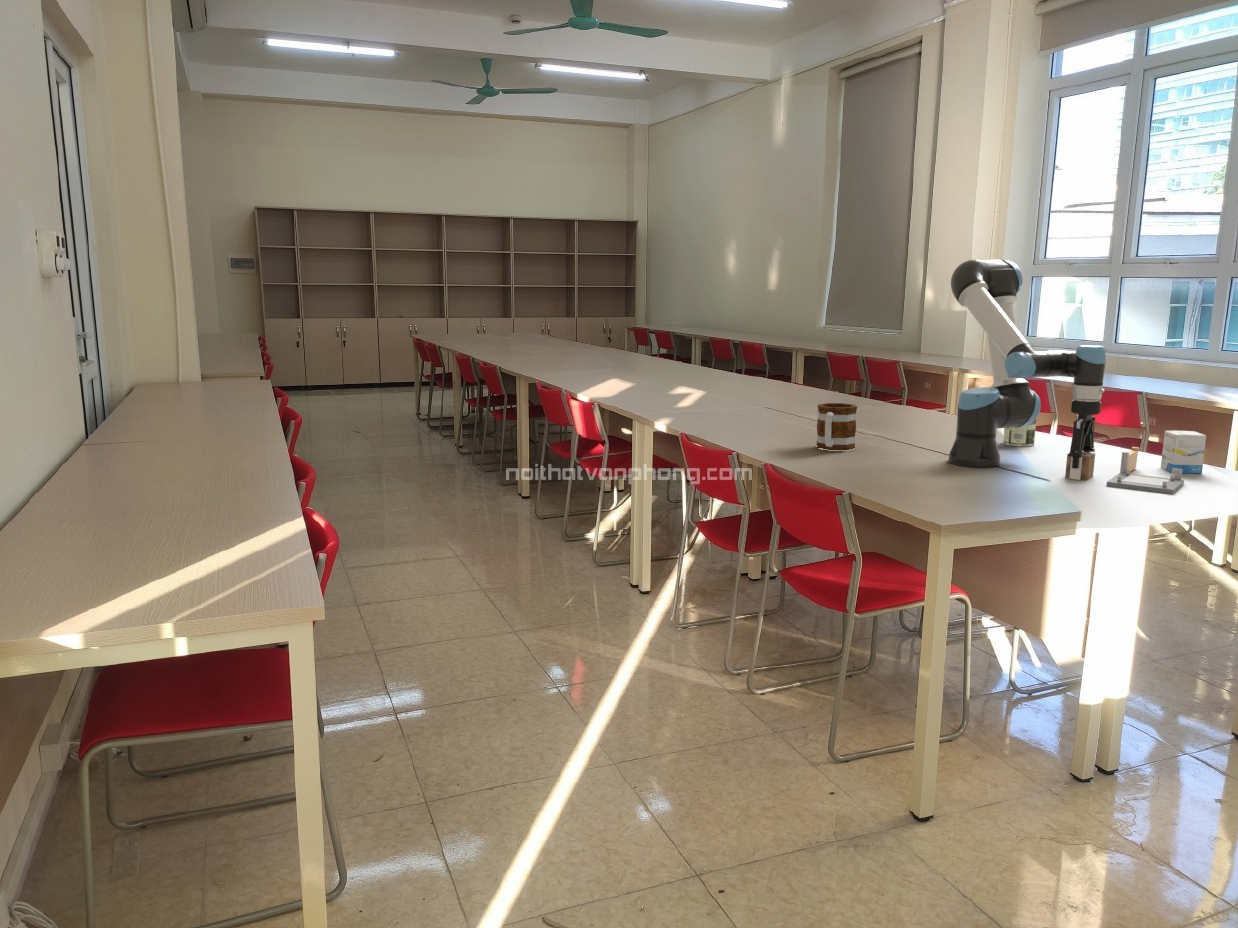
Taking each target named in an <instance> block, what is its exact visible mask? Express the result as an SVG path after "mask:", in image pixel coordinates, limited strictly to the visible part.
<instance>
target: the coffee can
mask: <svg viewBox="0 0 1238 928" xmlns="http://www.w3.org/2000/svg"><path fill="white" fill-rule="evenodd" d="M1036 424H1037V418H1036V419H1035V421H1034V422H1033V423H1031V424H1030V425H1027V426H1022V427H1018V428H1014V427H1011V428H1003V437H1002V438H1003V439H1002V444H1003V445H1006V446H1010V447H1034V446H1035V435H1036Z"/></svg>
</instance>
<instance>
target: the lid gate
mask: <svg viewBox="0 0 1238 928" xmlns="http://www.w3.org/2000/svg"><path fill="white" fill-rule="evenodd" d="M1139 451H1140V447H1138V446H1132V447H1131V451H1129V459H1128V468H1127V470H1131V471H1130V473H1131V472H1132V471H1134V470H1135V469H1136V468H1137V464H1138V463H1137V462H1138V456H1139V455H1138V453H1139Z"/></svg>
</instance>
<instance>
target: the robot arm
mask: <svg viewBox="0 0 1238 928" xmlns="http://www.w3.org/2000/svg"><path fill="white" fill-rule="evenodd" d="M1023 278H1024V277H1023V273H1022V271H1021V269H1020V267H1019V266H1018V264H1016V263H1015V262H1013V261H1011V260H1007V259H971V260H970V259H969V260H966V261H964V262H962V263H960V264H959V265H958V266H957V267H956V268H955V269H954V271H953V273H952V274H951V279H950V288H951V293H952V295H953V297H954V298H955V300H956V301H957V302H958V304H960V305H959V306H962V307H966V308H967V309H968V311H969V312H970V313H971V314H972V316H973V318H974V319H975V321H977V323H978V324H979V325H980V327H981V328H982V329H983V330H984V332H985V333H986V334H987V336H986V337H987V343H988V350H989V356H990V362H991V363H990V364H991V370H992V378H993V383H992V385H990V387H987V386H986V387H983V386H982V387H973V388H967V389H965V390H963V391H961V392H960V394H959V397H958V402H957V413H956V414H957V417H956V431H955V432H956V434H955V439H954V442H953V444H952V446H951V449H950V451H949V453H948V462H949V463H950V464H953V465H956V466H957V465H958V466H963V467H972V468H973V467H974V468H991V467H992V468H993V467H997V466H1000V464H1001V454H1000V452H999V448H998V444H997V443H998V442H997V440H996V439H997V429H998V430H999V429H1004V428H1011V427H1014V428H1018V427H1022V426H1027V425H1030V424H1031V423H1033V422H1034V421H1035V419H1036V420H1037V417H1038V416H1039V415H1040V412H1041V406H1042V404H1041V398H1040V395H1038V394H1037V392H1035V390H1032V389H1031V387H1030V382H1029V381H1028V380H1026V379H1031V378H1032V379H1033V378H1048V377H1050V378H1051V377H1052V378H1053V377H1065V378H1073V384H1072V385H1073V386H1072V394H1071V395H1072V396H1071V398H1072V400H1071V409H1070V412H1071V413H1072V414H1075V415H1076V414H1077V419H1075V420H1074V421H1073V431H1072V438H1071V443H1070V449H1069V452H1070V453H1069V452H1068V453H1069V454H1068V453H1067V454H1068V456H1070V457H1071V467H1070V478H1068V479H1070V480H1077V481H1080V480H1081V479H1080V478H1081V467H1082V457H1081V456H1082V452H1087V453H1095V450H1096V448H1095V424H1096V417H1095V416H1096V415H1099V414H1101V410H1102V408H1101V407H1102V402H1101V399H1102V397H1103V393H1105V390H1106V389H1104V388H1103V385H1104V376H1105V368H1106V364H1107V359H1106V355H1107V350H1106V348H1105V346H1103V345H1094V344H1091V345H1090V344H1089V345H1087V344H1083V345H1078V346H1077V347H1076V351H1074V350H1073V351H1071V350H1061V349H1048V350H1045V351H1042V350H1040V351H1038V350H1037V351H1036V350H1035V349H1034V347H1033V346H1032V345H1031V344H1030V343H1029V342H1028V340H1027V339H1026V338H1025V336H1024V335H1023V334H1022V333H1021V332H1020V330H1019V329H1018V328H1017V326H1016V325H1017V324H1016V320H1015V313H1014V311H1015V310H1014V305H1013V304H1014V303H1015V301H1016V300H1017V299H1018V297H1017V294H1018V293H1019V292H1020V290H1021V289H1022V288H1021V287H1022V286H1023ZM1094 415H1095V416H1094ZM1075 451H1077V452H1075Z"/></svg>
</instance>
